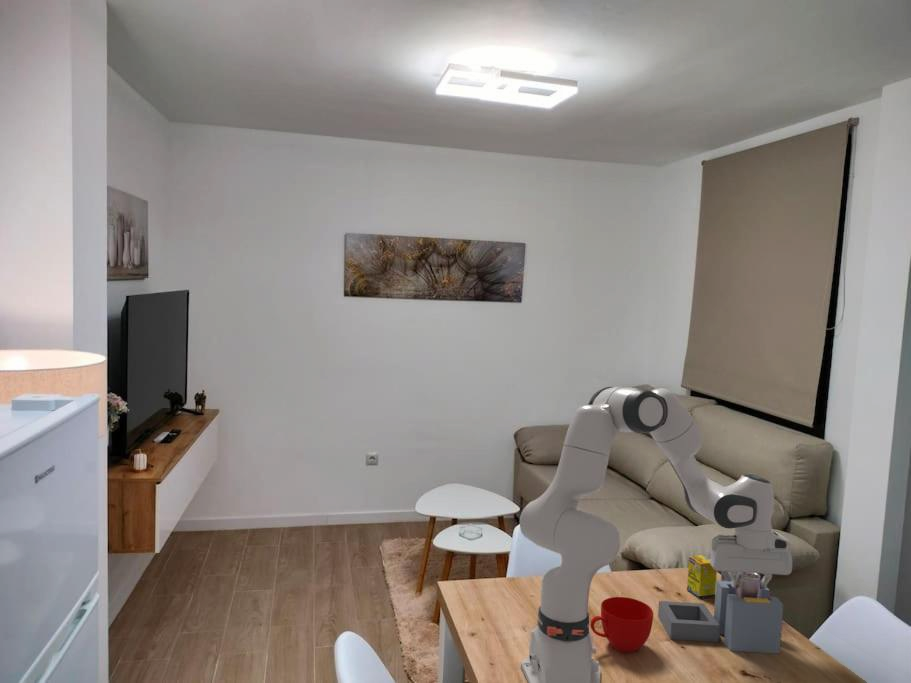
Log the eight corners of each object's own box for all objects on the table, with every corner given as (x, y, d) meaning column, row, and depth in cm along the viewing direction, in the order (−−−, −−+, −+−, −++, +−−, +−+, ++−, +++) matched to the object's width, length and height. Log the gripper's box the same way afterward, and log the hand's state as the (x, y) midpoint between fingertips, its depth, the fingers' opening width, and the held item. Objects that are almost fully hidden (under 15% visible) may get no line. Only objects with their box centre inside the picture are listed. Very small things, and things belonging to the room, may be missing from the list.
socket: (779, 653, 170) (783, 602, 169) (729, 650, 171) (733, 599, 170) (759, 629, 183) (763, 581, 182) (713, 626, 183) (716, 579, 182)
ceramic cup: (576, 639, 173) (578, 602, 172) (630, 630, 179) (633, 594, 178) (604, 665, 161) (606, 625, 160) (661, 655, 167) (664, 616, 166)
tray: (718, 642, 175) (719, 625, 174) (670, 639, 175) (671, 622, 175) (702, 619, 187) (704, 603, 187) (657, 616, 188) (658, 600, 187)
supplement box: (686, 590, 206) (688, 555, 205) (702, 588, 207) (705, 554, 207) (698, 599, 200) (701, 563, 199) (715, 597, 202) (717, 562, 201)
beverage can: (736, 620, 181) (741, 567, 180) (759, 628, 177) (764, 574, 176) (728, 628, 177) (733, 573, 175) (752, 636, 173) (757, 581, 171)
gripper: (716, 538, 172) (712, 590, 173) (797, 543, 171) (792, 595, 172) (708, 530, 178) (704, 580, 179) (786, 534, 177) (782, 584, 178)
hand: (748, 587), depth 176 cm, fingers closed on beverage can, 6 cm apart
